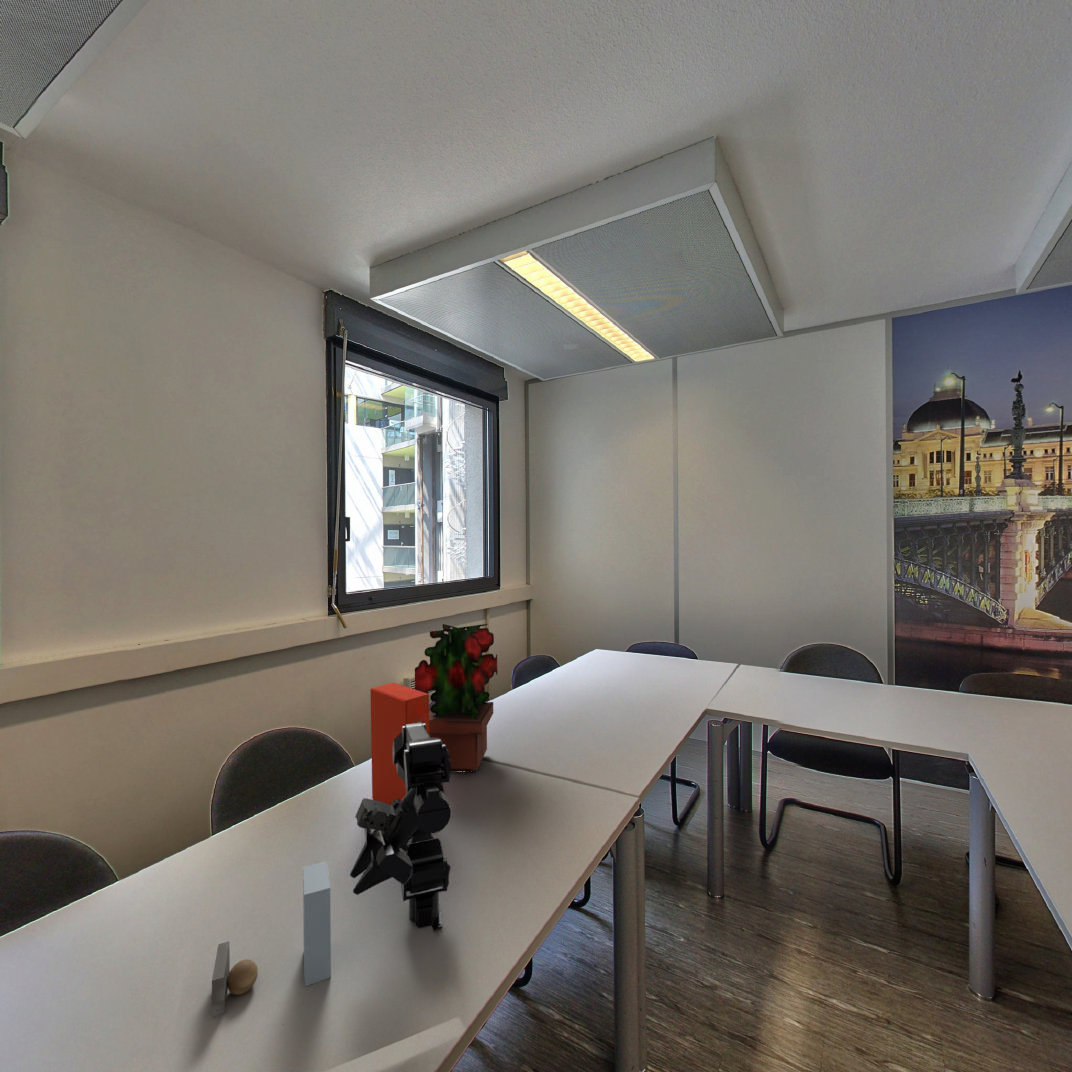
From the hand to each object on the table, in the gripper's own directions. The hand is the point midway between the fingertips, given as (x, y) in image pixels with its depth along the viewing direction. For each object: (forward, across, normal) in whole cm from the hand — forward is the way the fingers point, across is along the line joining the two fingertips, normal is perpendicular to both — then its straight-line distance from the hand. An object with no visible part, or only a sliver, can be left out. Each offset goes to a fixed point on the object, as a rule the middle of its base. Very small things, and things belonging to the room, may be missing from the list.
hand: (353, 884), depth 93 cm
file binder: (-3, -52, +22) cm, 56 cm away
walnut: (+21, 0, -3) cm, 21 cm away
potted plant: (-19, -70, +38) cm, 82 cm away
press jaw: (+13, 0, +4) cm, 14 cm away
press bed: (+17, 0, +2) cm, 18 cm away
